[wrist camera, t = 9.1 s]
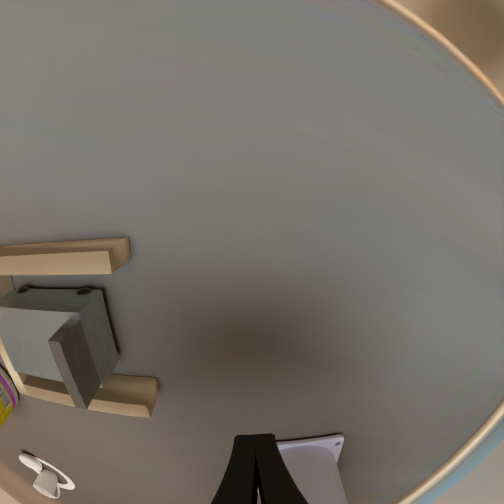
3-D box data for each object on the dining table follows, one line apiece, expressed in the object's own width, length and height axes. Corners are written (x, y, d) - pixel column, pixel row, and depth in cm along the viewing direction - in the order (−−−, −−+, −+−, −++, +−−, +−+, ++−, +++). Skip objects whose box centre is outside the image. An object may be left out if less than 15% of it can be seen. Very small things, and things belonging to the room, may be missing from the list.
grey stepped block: (104, 283, 17) (55, 331, 11) (122, 356, 19) (90, 416, 13) (19, 282, 17) (-33, 318, 11) (39, 347, 19) (-1, 392, 13)
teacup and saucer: (16, 443, 24) (4, 462, 20) (57, 459, 24) (46, 481, 20) (44, 478, 26) (35, 495, 22) (84, 492, 26) (77, 512, 22)
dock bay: (159, 389, 20) (150, 417, 17) (35, 373, 19) (19, 392, 16) (128, 236, 16) (108, 250, 14) (-5, 246, 16) (-30, 258, 13)
